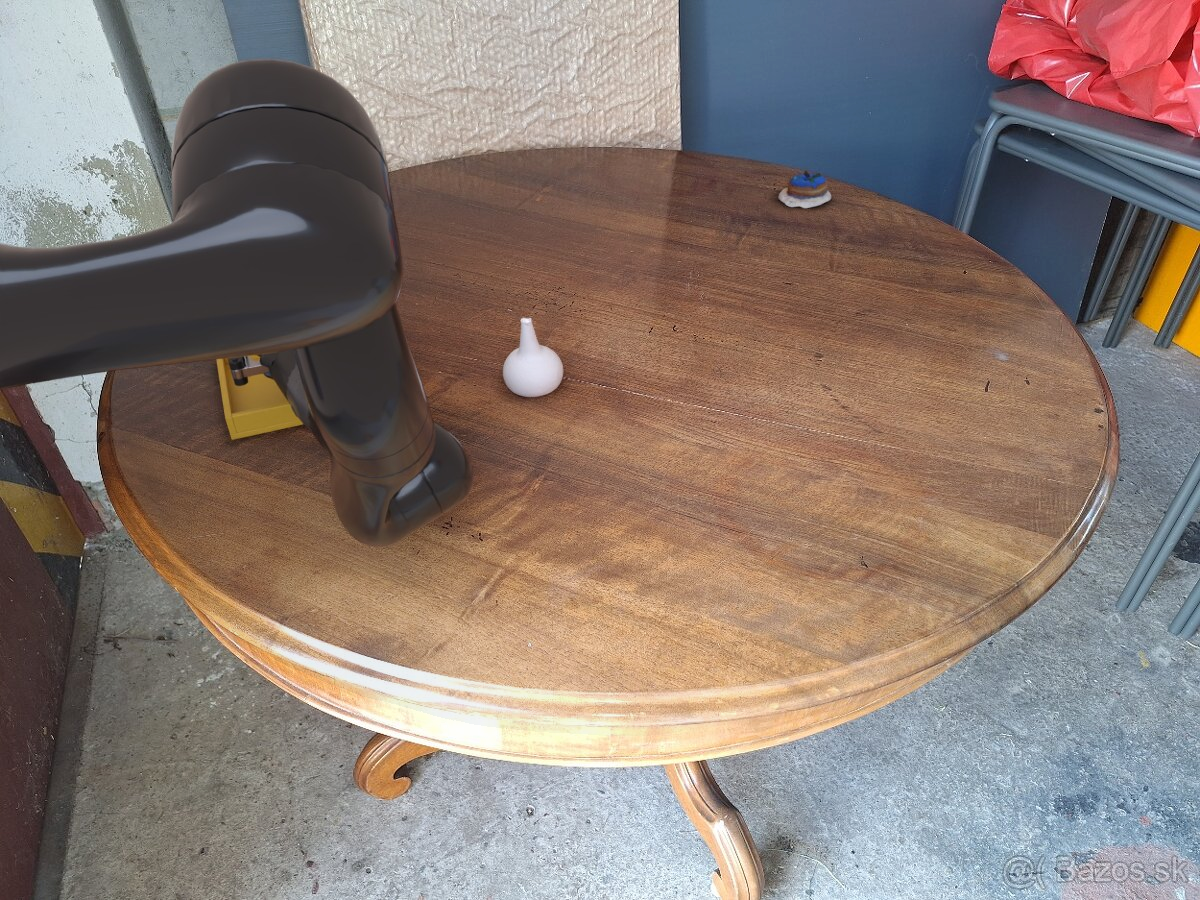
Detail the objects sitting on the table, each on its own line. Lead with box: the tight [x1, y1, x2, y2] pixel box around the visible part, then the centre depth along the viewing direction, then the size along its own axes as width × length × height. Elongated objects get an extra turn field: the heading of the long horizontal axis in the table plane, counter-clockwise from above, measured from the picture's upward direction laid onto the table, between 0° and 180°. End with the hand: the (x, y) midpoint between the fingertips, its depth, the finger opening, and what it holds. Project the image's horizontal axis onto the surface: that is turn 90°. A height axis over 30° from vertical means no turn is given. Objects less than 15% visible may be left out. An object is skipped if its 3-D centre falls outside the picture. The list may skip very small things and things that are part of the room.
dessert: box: [778, 170, 832, 209], centre depth 135 cm, size 8×7×6 cm
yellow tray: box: [216, 355, 304, 441], centre depth 93 cm, size 14×14×3 cm
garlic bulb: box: [502, 317, 564, 398], centre depth 92 cm, size 6×6×8 cm
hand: (274, 312), depth 90 cm, fingers closed on lemon, 5 cm apart
